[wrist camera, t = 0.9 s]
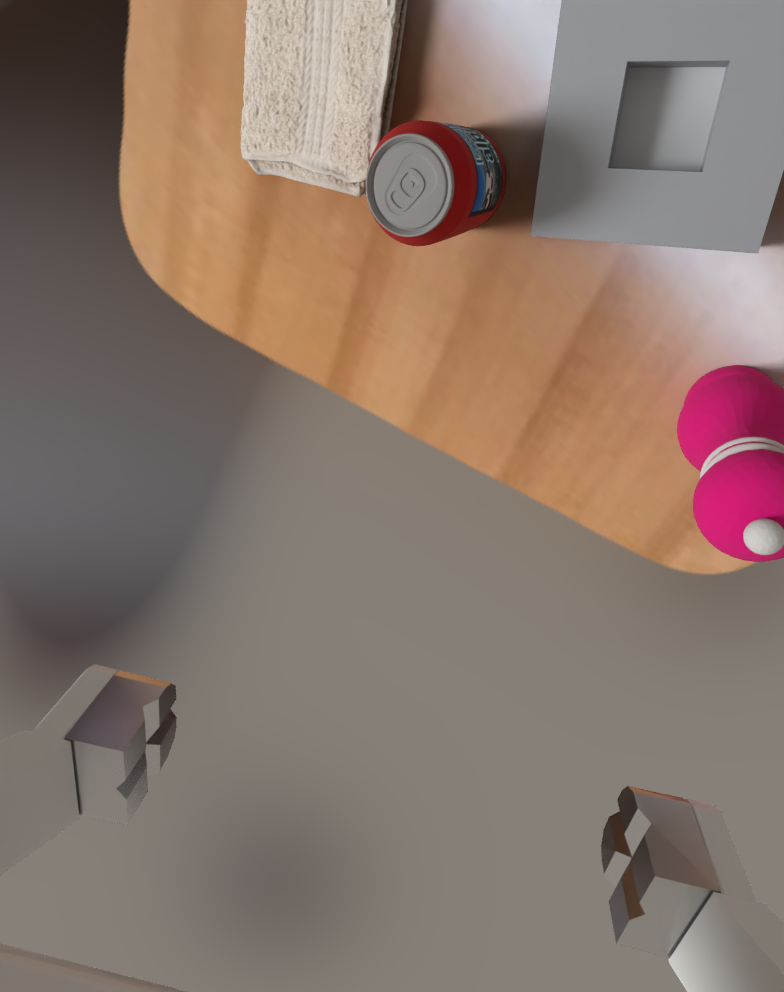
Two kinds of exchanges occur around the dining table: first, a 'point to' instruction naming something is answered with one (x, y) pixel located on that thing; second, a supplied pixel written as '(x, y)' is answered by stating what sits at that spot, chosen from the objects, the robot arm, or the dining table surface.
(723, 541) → the pepper mill
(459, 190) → the beverage can
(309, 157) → the washcloth
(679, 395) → the dining table surface
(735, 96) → the hole block
